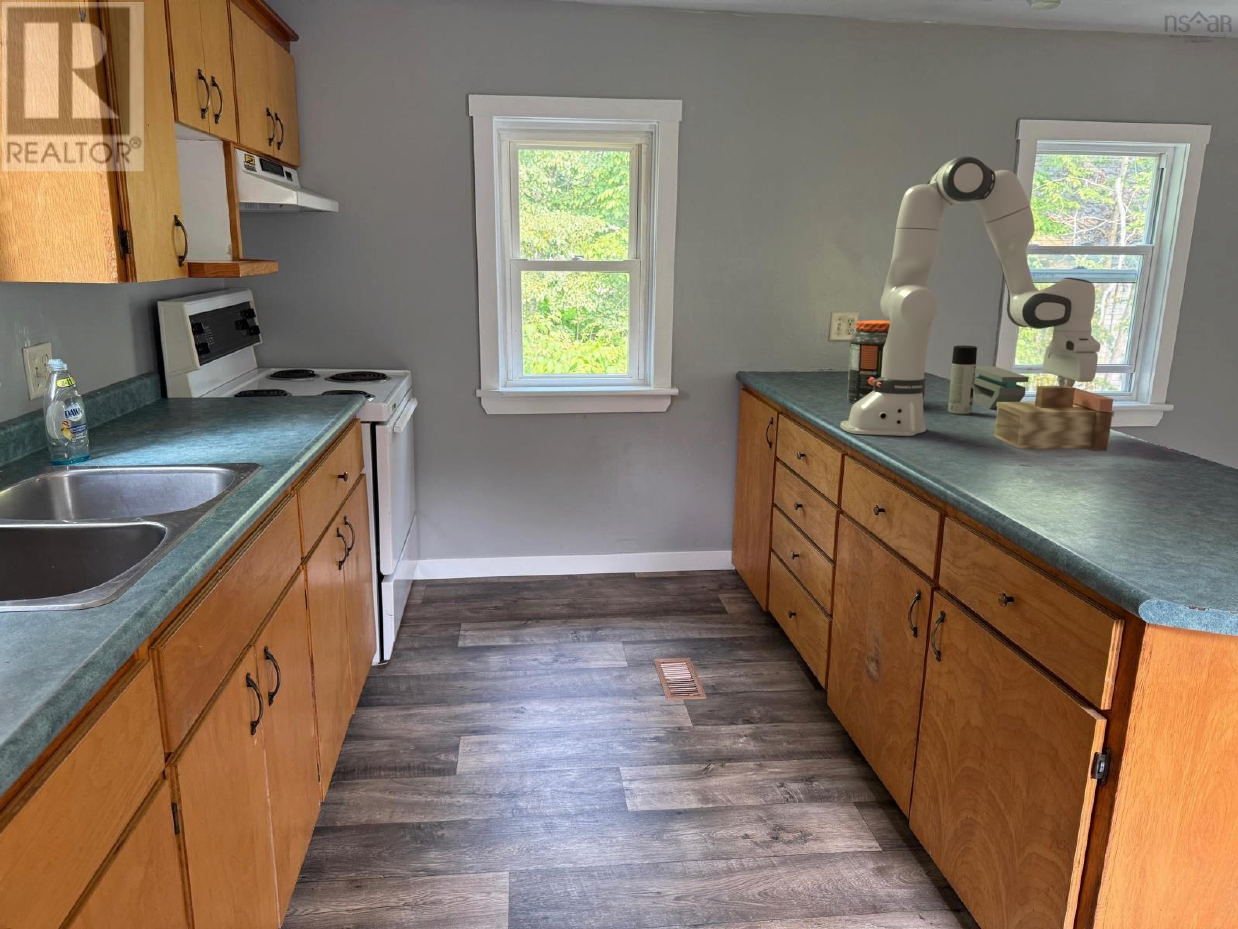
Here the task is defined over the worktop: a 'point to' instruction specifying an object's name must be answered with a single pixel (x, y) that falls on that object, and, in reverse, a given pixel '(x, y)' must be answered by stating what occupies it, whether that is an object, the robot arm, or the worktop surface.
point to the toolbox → (1053, 431)
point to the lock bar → (1092, 400)
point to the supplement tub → (866, 357)
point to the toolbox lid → (1050, 404)
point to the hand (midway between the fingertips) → (1064, 394)
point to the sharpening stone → (997, 386)
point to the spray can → (962, 379)
